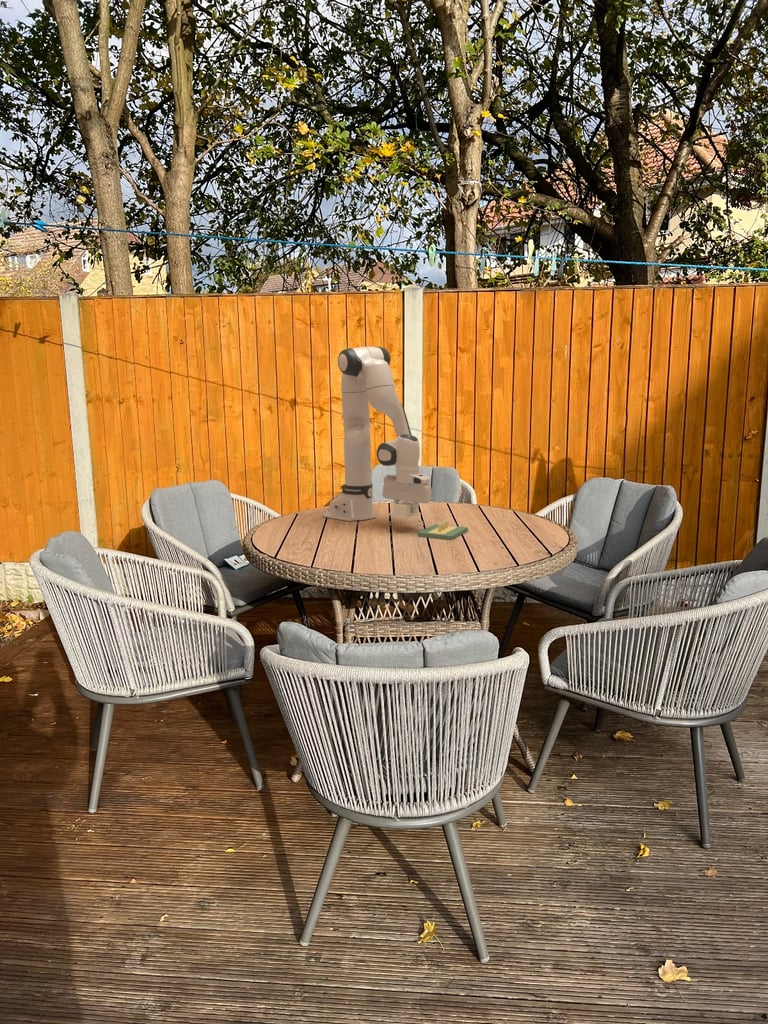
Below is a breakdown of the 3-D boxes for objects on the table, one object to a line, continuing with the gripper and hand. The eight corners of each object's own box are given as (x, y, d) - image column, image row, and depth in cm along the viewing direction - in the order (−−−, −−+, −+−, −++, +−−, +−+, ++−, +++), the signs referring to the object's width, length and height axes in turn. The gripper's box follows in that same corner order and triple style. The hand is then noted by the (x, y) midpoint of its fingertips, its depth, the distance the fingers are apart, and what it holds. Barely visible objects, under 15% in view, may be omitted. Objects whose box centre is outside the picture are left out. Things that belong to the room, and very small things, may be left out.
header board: (417, 536, 288) (417, 523, 287) (435, 527, 302) (435, 515, 301) (451, 540, 282) (451, 527, 281) (467, 531, 295) (468, 518, 294)
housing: (393, 517, 294) (393, 504, 293) (407, 512, 304) (407, 500, 303) (404, 519, 292) (405, 506, 291) (418, 514, 301) (418, 501, 300)
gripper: (380, 475, 297) (379, 509, 300) (427, 480, 287) (425, 516, 290) (387, 473, 302) (386, 507, 305) (434, 478, 293) (432, 513, 295)
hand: (406, 511), depth 297 cm, fingers closed on housing, 5 cm apart
